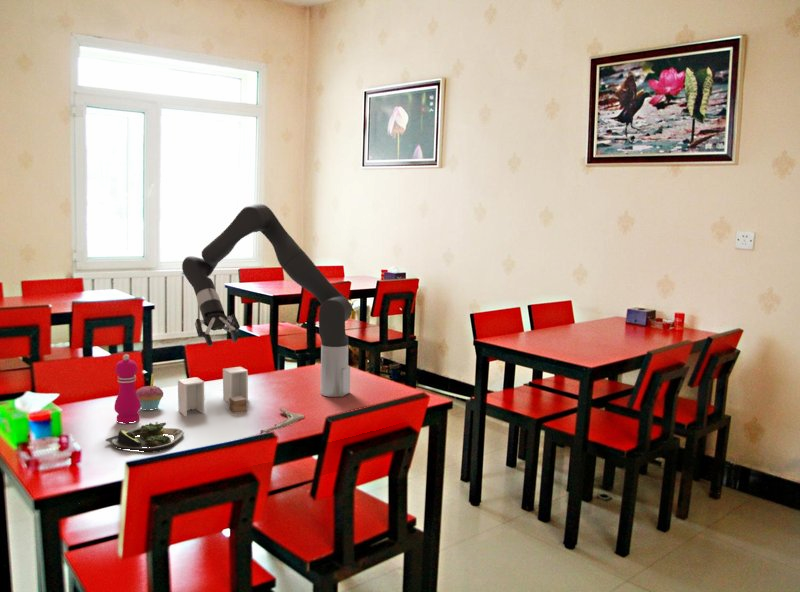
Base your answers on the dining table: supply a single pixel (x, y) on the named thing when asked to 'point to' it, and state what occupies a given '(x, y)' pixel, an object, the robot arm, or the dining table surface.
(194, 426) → the dining table surface
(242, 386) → the hood cube
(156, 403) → the cupcake
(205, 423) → the dining table surface
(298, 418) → the jawbone
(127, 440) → the salad plate
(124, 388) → the pepper mill
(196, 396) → the hood empty
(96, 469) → the dining table surface
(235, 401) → the walnut cube
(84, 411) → the dining table surface
